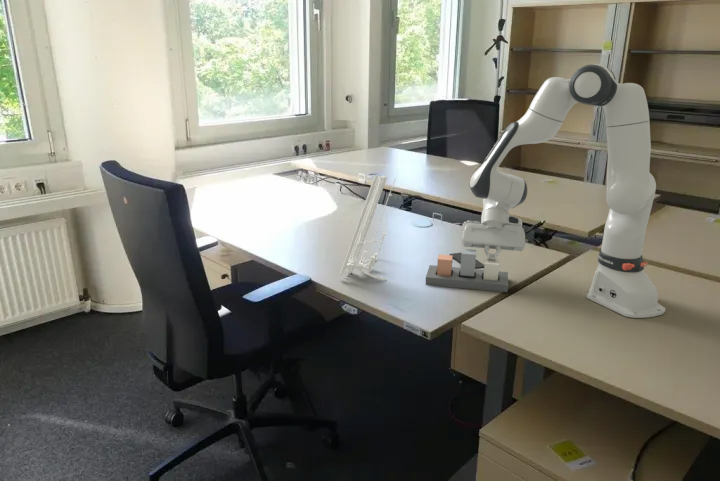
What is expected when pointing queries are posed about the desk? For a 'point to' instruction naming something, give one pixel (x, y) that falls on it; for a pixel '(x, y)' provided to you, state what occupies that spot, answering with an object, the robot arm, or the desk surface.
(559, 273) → the desk surface
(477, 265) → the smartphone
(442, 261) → the key terracotta
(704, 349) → the desk surface
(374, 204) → the white display easel
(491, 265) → the key ivory
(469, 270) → the key slate
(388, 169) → the desk surface
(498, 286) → the keypad base
